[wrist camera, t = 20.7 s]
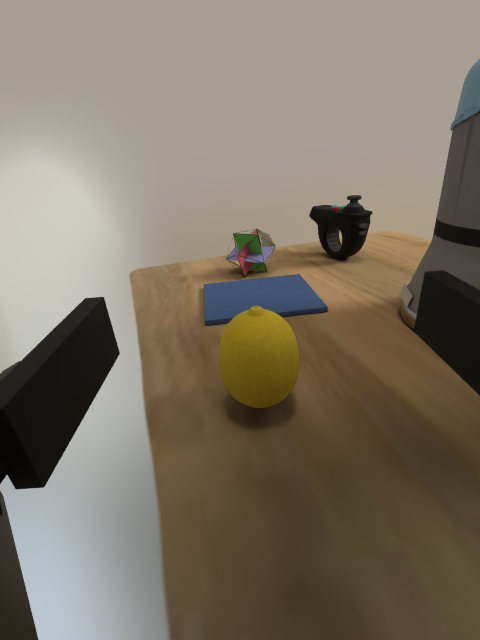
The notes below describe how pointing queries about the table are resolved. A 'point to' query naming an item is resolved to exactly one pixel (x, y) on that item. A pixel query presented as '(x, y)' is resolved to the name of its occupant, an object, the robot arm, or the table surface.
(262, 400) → the lemon
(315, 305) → the blue mat
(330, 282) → the table surface
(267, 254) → the geometric puzzle
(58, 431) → the robot arm
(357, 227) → the controller
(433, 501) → the table surface
